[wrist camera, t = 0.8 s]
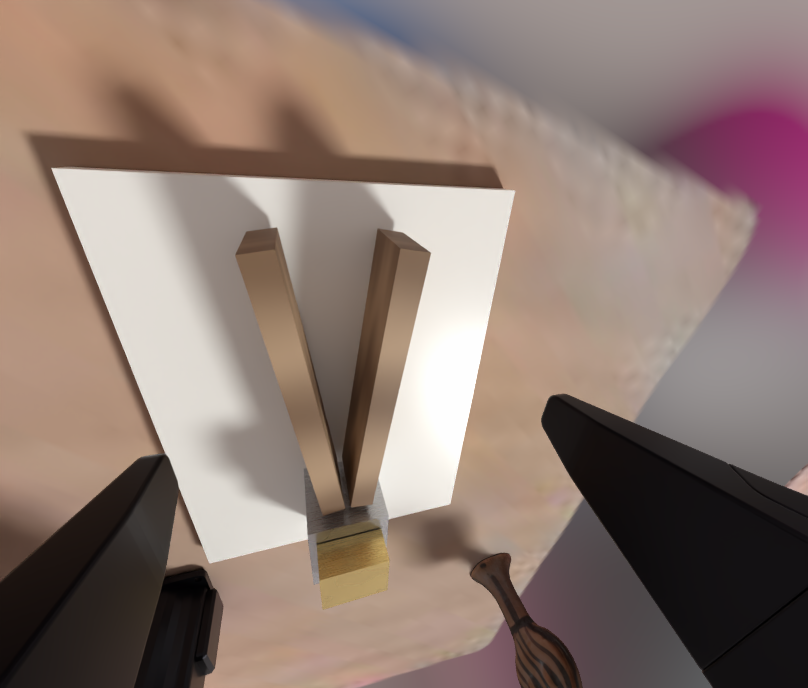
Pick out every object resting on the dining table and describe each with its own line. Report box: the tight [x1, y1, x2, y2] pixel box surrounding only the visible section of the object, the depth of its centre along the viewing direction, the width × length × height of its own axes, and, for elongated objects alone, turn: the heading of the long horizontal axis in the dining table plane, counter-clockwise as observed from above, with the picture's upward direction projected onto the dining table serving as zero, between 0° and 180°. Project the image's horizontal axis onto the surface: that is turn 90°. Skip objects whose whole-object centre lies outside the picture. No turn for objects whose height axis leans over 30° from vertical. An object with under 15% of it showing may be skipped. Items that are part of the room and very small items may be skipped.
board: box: [51, 167, 515, 564], centre depth 20 cm, size 18×24×1 cm
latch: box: [317, 529, 389, 610], centre depth 19 cm, size 3×4×2 cm
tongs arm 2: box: [235, 227, 345, 516], centre depth 16 cm, size 14×1×4 cm, turn 3°
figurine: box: [471, 553, 583, 688], centre depth 31 cm, size 7×5×18 cm
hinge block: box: [304, 461, 389, 585], centre depth 21 cm, size 5×4×4 cm
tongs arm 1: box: [342, 229, 431, 507], centre depth 17 cm, size 14×1×4 cm, turn 167°
